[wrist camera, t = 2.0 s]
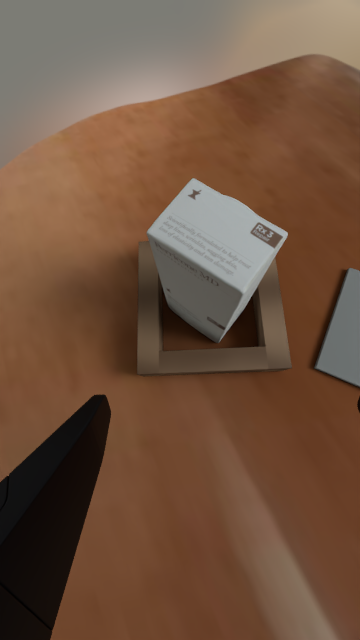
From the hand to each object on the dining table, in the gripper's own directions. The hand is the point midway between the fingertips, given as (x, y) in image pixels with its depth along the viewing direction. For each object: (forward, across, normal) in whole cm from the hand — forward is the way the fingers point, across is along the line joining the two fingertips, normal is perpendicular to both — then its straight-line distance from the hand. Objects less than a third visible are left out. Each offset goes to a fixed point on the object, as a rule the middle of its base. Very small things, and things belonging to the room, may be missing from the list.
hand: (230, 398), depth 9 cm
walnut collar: (+15, 0, +4) cm, 15 cm away
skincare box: (+15, 0, +4) cm, 16 cm away
